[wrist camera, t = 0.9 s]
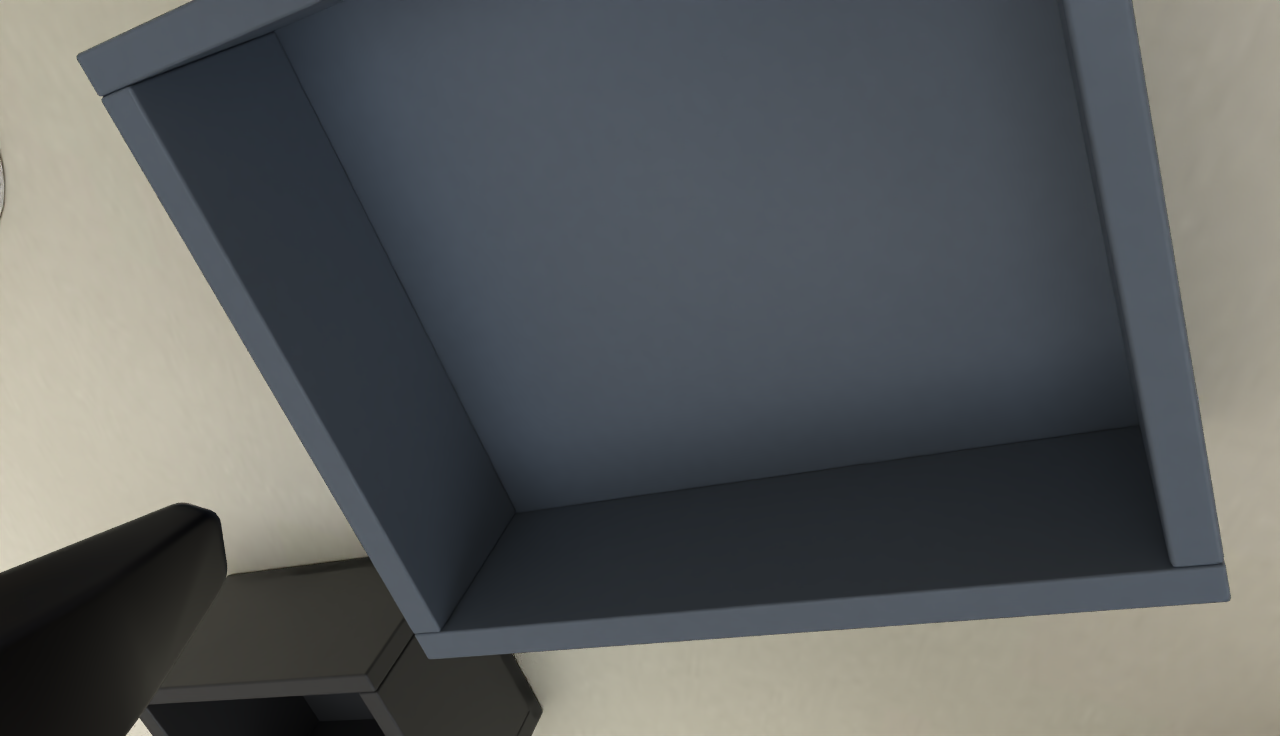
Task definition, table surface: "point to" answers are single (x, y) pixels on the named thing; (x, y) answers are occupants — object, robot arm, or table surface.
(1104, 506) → the grey bin
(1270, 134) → the table surface
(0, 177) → the cylindrical container
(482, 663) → the black bin
